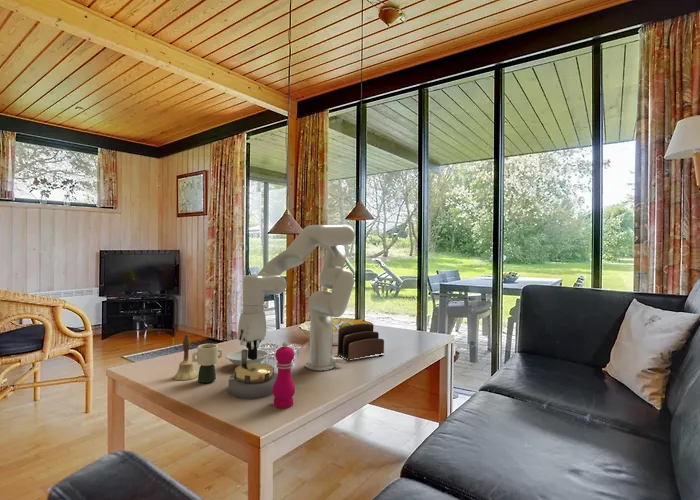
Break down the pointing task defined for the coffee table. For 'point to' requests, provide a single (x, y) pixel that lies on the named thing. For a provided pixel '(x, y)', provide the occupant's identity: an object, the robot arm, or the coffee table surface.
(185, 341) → the hand bell
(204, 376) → the character mug
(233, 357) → the dish
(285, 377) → the pepper mill
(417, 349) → the coffee table surface
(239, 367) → the ring nut
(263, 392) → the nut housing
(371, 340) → the letter holder
